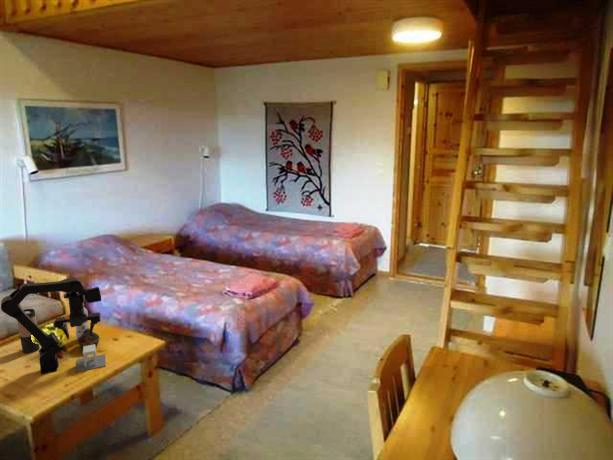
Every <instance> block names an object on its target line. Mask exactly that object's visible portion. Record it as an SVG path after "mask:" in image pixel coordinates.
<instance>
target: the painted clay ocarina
mask: <svg viewBox="0 0 613 460" xmlns="http://www.w3.org/2000/svg"><path fill="white" fill-rule="evenodd" d="M99 342H100V335H98V333H96V332H94V331H92V335H91V336H90V328H87V329H85V330H84V334H82V335H81V336H80V337H79V338H78V340H77V344H78V345H79V347H80V348H81V349H82V350H83V346H89V345H94V344H95V346H96V348H97V347H98V345H99Z"/></svg>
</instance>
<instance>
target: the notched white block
mask: <svg viewBox="0 0 613 460" xmlns="http://www.w3.org/2000/svg"><path fill="white" fill-rule="evenodd" d="M91 355H92V357H94V365H97V361H96V359H97V356H98V355H97V347H96V346H95V344H94V345H89V346H83V349H82V356H83V357H82V358H84V366H85V367H87V357H88V356H91Z"/></svg>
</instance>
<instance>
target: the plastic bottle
mask: <svg viewBox="0 0 613 460" xmlns="http://www.w3.org/2000/svg"><path fill="white" fill-rule="evenodd" d="M84 303H85V302H83V305H84V314H86V315H87V316H88V314H89V311H88V309H87V308H86V307H85V304H84ZM89 327H90V326H89V320H88V321H87V322H84V323H83V324H82V326H76V327H75V339H76V340H77V341H78V338H79V337H80V336H81V335H82V334H84V330H85V329H87V328H89Z"/></svg>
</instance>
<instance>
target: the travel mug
mask: <svg viewBox="0 0 613 460" xmlns="http://www.w3.org/2000/svg"><path fill="white" fill-rule="evenodd" d="M23 311H24V312H25V313H26V314H27V315H28V316H29V317H30V318H31V319H32V320H33V321H34V322H35V323H36V324H37V325H38V322H37V317H36V310H35V309H33V308H25V309H23ZM17 325H18V334H19V338H20V343H21V348H22V353H24V354H33V353H35V352H39V350H40V349H41V345H40V344H39V345H40V346H39V345H38V344H35V343H33V342H32V340H31V335H32V334H31V333H30V332H29V331H28V330H27V329H26V328H25V327H24V326H23V325H21V324H20V323H19V322H18V321H17Z"/></svg>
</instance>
